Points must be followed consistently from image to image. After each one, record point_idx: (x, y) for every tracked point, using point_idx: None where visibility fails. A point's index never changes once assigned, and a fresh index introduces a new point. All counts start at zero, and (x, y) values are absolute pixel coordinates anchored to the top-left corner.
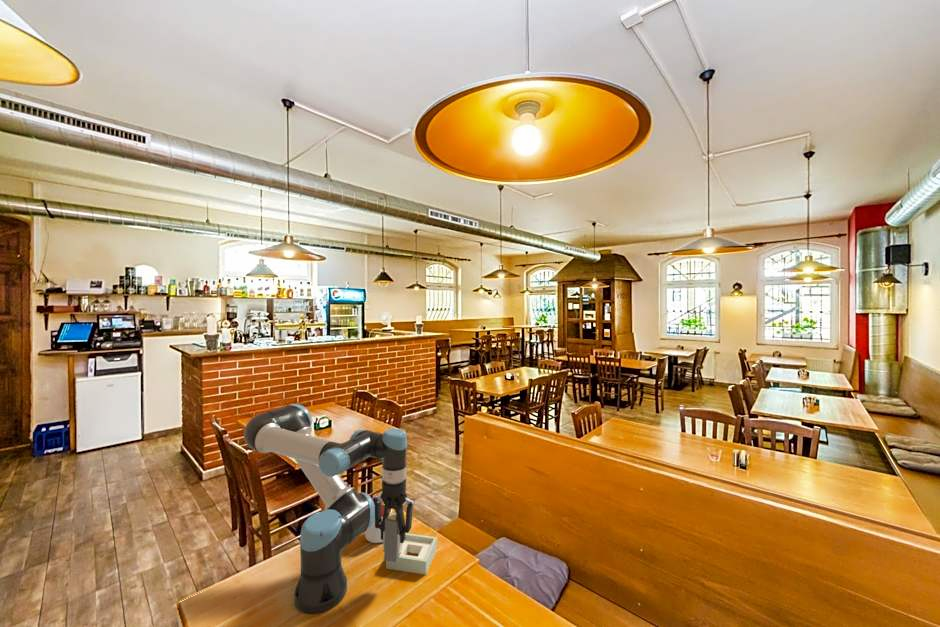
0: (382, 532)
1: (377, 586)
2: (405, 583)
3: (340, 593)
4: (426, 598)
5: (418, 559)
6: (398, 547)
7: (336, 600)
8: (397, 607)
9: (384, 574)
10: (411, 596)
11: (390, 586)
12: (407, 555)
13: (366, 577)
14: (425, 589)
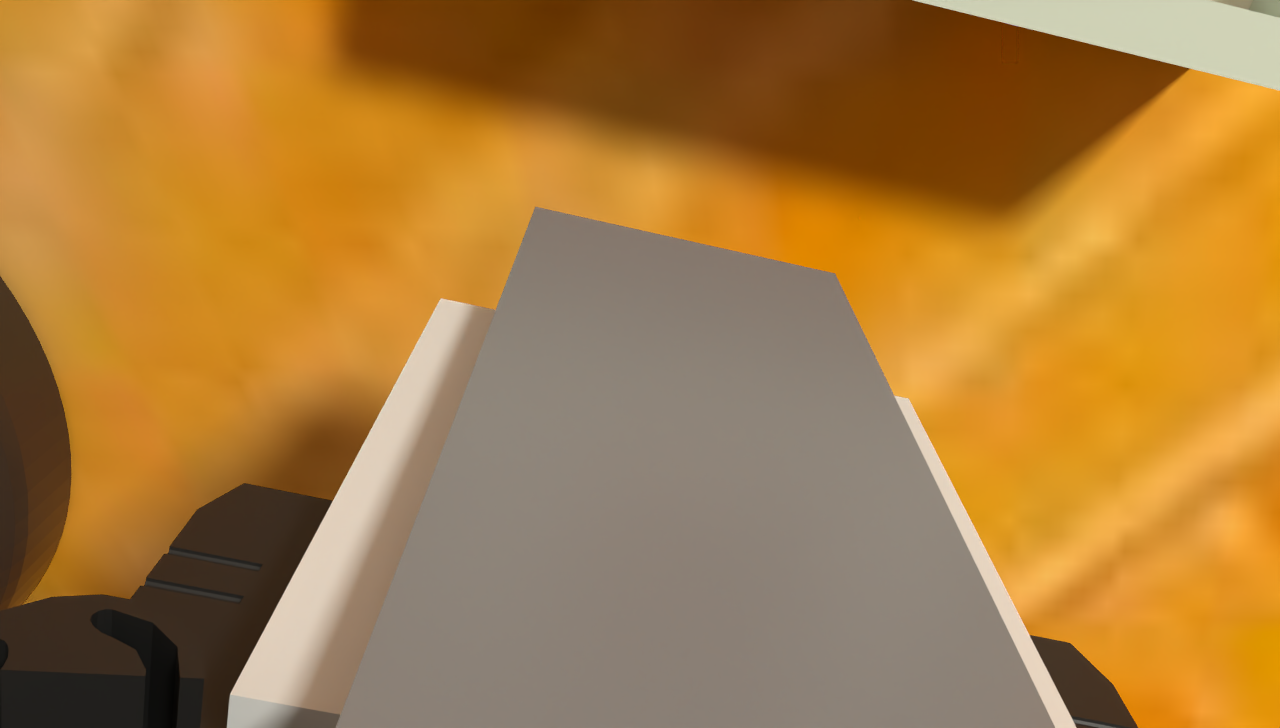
0: None
1: (453, 291)
2: (860, 242)
3: (5, 581)
4: (1155, 502)
5: (1170, 32)
6: None
7: (12, 607)
8: None
9: (495, 42)
10: (955, 467)
11: None
12: None
13: (224, 107)
14: (1156, 358)
